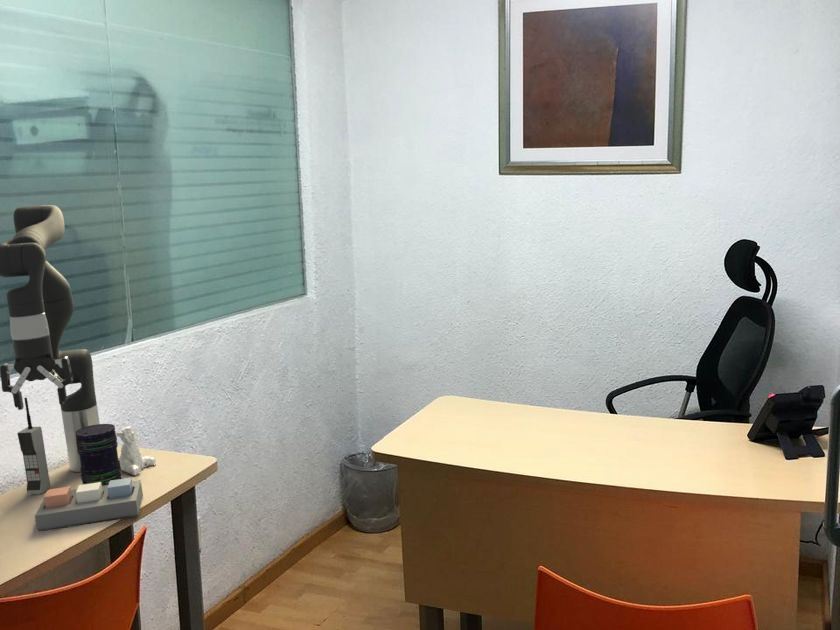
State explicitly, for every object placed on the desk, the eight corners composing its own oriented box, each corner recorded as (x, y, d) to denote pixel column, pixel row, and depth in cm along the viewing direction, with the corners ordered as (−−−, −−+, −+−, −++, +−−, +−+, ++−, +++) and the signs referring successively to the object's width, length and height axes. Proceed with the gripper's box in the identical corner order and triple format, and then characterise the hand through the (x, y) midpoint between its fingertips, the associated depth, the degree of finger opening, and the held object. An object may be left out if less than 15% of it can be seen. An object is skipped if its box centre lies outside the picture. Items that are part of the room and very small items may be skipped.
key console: (48, 509, 205) (46, 493, 204) (142, 495, 210) (140, 480, 209) (37, 532, 192) (34, 515, 191) (138, 516, 196) (135, 500, 196)
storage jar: (106, 475, 227) (98, 422, 224) (130, 480, 222) (123, 425, 219) (74, 488, 218) (66, 433, 216) (99, 493, 213) (91, 437, 211)
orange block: (50, 503, 201) (47, 489, 200) (72, 500, 202) (70, 486, 201) (46, 511, 196) (43, 497, 195) (68, 508, 197) (66, 493, 196)
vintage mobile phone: (26, 495, 216) (11, 401, 212) (37, 487, 221) (22, 395, 217) (40, 494, 216) (26, 400, 211) (50, 487, 221) (36, 395, 216)
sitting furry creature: (136, 476, 224) (130, 433, 222) (109, 474, 227) (103, 432, 225) (157, 463, 233) (152, 422, 231) (131, 462, 236) (125, 421, 234)
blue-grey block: (111, 494, 204) (109, 480, 203) (133, 491, 205) (131, 477, 204) (109, 501, 199) (107, 487, 198) (131, 498, 200) (129, 484, 199)
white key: (81, 498, 202) (79, 485, 201) (103, 495, 203) (101, 481, 203) (78, 506, 197) (75, 492, 197) (100, 503, 198) (98, 489, 198)
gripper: (67, 328, 189) (78, 398, 192) (-1, 335, 186) (10, 406, 189) (62, 334, 182) (73, 406, 185) (-9, 341, 179) (2, 415, 182)
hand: (41, 406), depth 187 cm, fingers open, 8 cm apart
